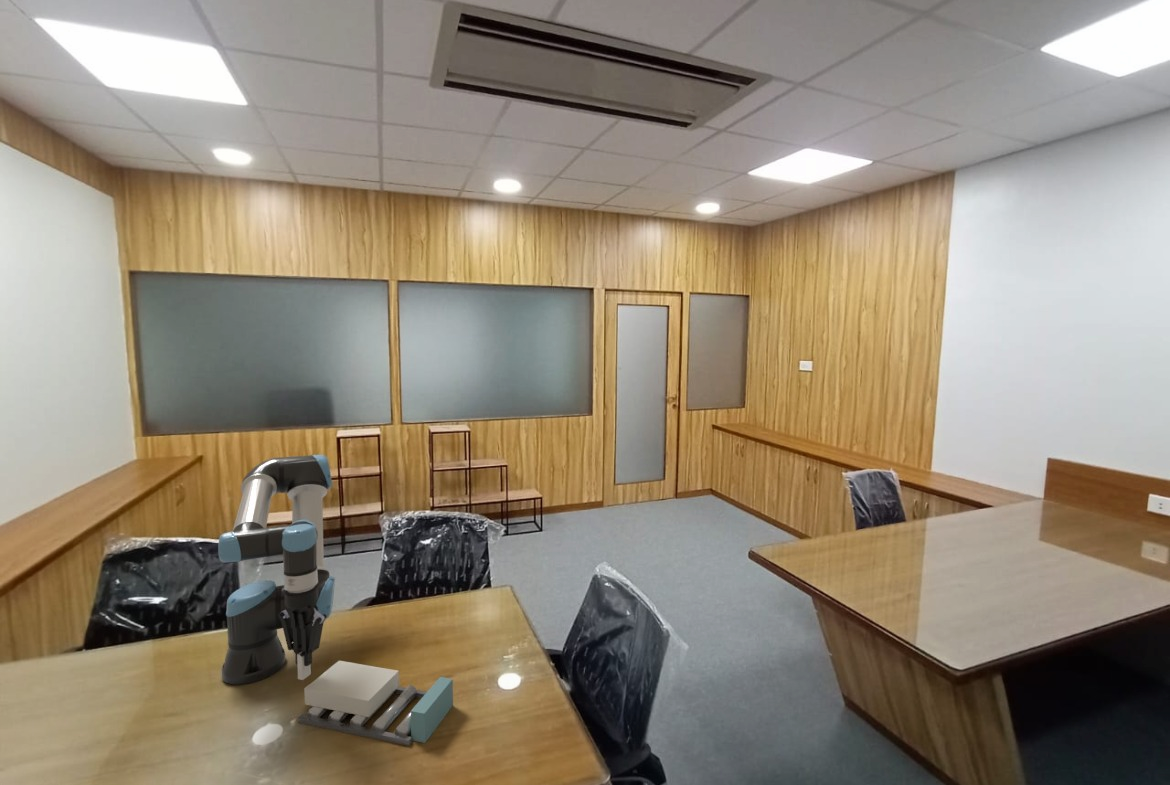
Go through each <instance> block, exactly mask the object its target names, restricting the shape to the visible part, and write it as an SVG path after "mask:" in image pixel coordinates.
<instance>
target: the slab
mask: <svg viewBox="0 0 1170 785" xmlns="http://www.w3.org/2000/svg"><path fill="white" fill-rule="evenodd" d="M399 672H400V671H399V670H396V669H391V668H384V667H379V666H374V665H368V664H360V663H356V662H349V661H344V660H337V662H335V663H334V664H333V665H331V666H330V667H329V668H328V669H327V670H325V671H324V672H323V673H322V674H321V675H319V676H318V677H317V678H316V679H314V680H313V681H311V683H310V684H308V685H306V686H305V687H304V688H303V691H304V705H307V706H311V707H313V706H316V707H321V708H326V709H328V710H333V711H334V710H336V711H341V712H346V713H349V714H350V715H351V714H353V715H361V716H366V717H369V716H370V715H371V714H372V713H373V712H374V711H375V710H376V709H377V708H378V707H379V706H380V705H381V704H382V703H383V702H384V701H385V700H386V699H387V698H388V697H389V696H390V695H391V694H392V693H393V691H394V690H395V689H396V688H397V687H398V686H399V687H400V673H399ZM393 694H394V693H393Z"/></svg>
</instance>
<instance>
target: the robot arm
mask: <svg viewBox="0 0 1170 785" xmlns="http://www.w3.org/2000/svg"><path fill="white" fill-rule="evenodd" d="M332 482H333V481H332V475H331V468H330V463H329V459H328V457H327V456H326V455H324V454H310V455H300V456H299V455H298V456H296V455H295V456H284V457H280V456H279V457H273V458H269V459H267V460H264V461H262V462H260V463H258V464H256V466H254V467H253V468H251V470H250V471H248V473H247V474H246V475H244V478H243V480H242V482H241V485H240V493H241V495H242V496H241V500H240V504H239V506H238V511H237V514H236V517H235V521H234V524H233V528H232V531H229V532H224V533H222V534H221V535H220V536H219V538H218V543H217V546H218V547H217V548H218V549H217V550H218V552H217V554H218V558H219V561H220V562H221V563H234V562H236V563H239V562H243V561H244V562H245V561H249V560H256V559H261V558H262V559H263V558H268V557H269V558H270V557H275V556H276V557H278V556H282V561H283V562H282V563H283V584H282V585H277V584H276V582H275V581H273V580H266V579H265V580H260V581H255V582H252V583H249V584H245V585H244V586H242V587H240V588H238V589H236V590H235V591H233V592H231V594H230V595H229V596H228V598H227V601H226V612H225V616H226V624H227V629H226V630H227V648H228V649H227V651H226V654H225V659H224V663H222V664H223V665H222V667H221V679H223V680H222V681H223V682H225V683H226V684H228V683H229V684H228V685H234V686H235V685H239V686H240V685H246V684H252V683H255V682H259V681H261V680H264V679H267V678H268V677H270V676H273V675H274V674H275V673H277V672H278V671H280V670H281V668H282V667H284V665H285V663H286V651H285V649H284V647H283V645H282V642H281V640H280V637H279V636H278V630H280V629H282V630H283V634H284V639H285V644H286V646H287V650H288V651H293V653H294V655H295V657H294V658H295V665H297V680H301V681H304V680H305V679H306V678H308V677H309V676H310V675H311V674H312V671H311V668H312V667H311V665H312V663H313V653H314V652H315V651H317V650H318V649H319V648H320V643H321V638H322V634H323V633H322V632H323V627H324V623H325V621H326V620H327V619H328V618H329V617H330V616H331V615H332V611H333V607H334V606H333V603H334V598H335V597H334V596H335V586H336V584H335V583H336V582H335V581H336V578H335V577H334V576H330V571H329V570H328V569H327V568H326V567H325V566H324V562H325V561H324V525H323V524H324V520H323V519H324V518H323V516H324V515H323V512H324V511H323V508H324V507H323V498H324V497H326V495H328V490H329V489H332V487H333V483H332ZM275 494H286V495H287V498H288V499H289V500H290V501H292V504H291V506H292V507H291V510H292V511H291V513H292V516H291V518H292V520H291V524H287V525H278V526H271V527H267V524H268V519H269V513H270V508H271V502H272V498H273V496H274V495H275ZM283 664H284V665H283Z"/></svg>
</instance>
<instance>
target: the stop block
mask: <svg viewBox="0 0 1170 785" xmlns="http://www.w3.org/2000/svg"><path fill="white" fill-rule="evenodd" d="M453 682H454V681H453V678H449V677H443V676H439V677H438V679H437V680H436V681H435V682H434V683H433V684H432V685H431V687H430V688H429V689H428V690H427V693H426V694H425V695H424V696H423V697H422V698H420V699H419V700H418V702H417V703H416V704H415V705H414V706H413V707H412V709H411V710H410V711H411V731H410V734H411V735H410V737H412V742H413V741H414V742H417V743H418V742H419V743H424V744H425V743H426V742H427V741H428V740H429V738H430V737H431V735H432V734H433V733H434V732H435V731H436V729H437V728H438V726H439V725H440V724H441V722H443V719H444V718H445V717H446V716H447V714H448V713H449V711H450V710H451V708H453V707H454V693H453V692H454V685H453Z"/></svg>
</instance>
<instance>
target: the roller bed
mask: <svg viewBox="0 0 1170 785" xmlns="http://www.w3.org/2000/svg"><path fill="white" fill-rule="evenodd" d="M427 691H428V690H427ZM427 691H425V690H421V689H417V688H416V687H415V686H414V685H407V687H404V686H400V685H399V686H398V687H397V688H396V689H395V690H394V691H393V693H392V694H391V695H390V696H389V697H388V698H387V699H386V700H385V701H384V702H383V703H382V704H381V705H380V706H379V707H378V708H377V709H376V710H375V711H374V712H373V713H372V714H371V715H370V716H369V717H366V716H361V715H356V714H354V716H352V718H351V719H350V721H349V723H344V722H342V721H343V720H344V719H345V718H346V717H347V716H348V715H349V714H350V713H346V712H341V711H336V710H333V711H331V713H330V714H329V715H328V717H327V719H326V718H321V717H322V716H323V715H324V714H325V713H326V712H327V711H329V709H326V708H321V707H316V706H311V708H309V710H307V712H306V715H305V714H300V716H299V717H298V718H297V723H300V724H303V725H308V726H312V727H318V728H322V729H327V730H332V731H336V732H342V733H346V734H351V735H355V736H360V737H365V738H369V739H373V740H379V741H385V742H387V743H388V742H389V743H394V744H398V745H404V746H408V747H409V746H411V744H412V743H413V740H412V737H411V736H408V735H409V734H411V710H410V711H409V713H408V714H406V716H405V717H404V718H403V719H402V721H401V722H400V723H399V724H398V725H397V726H396V728H395V730H394V732H388V731H386V730H387V729H388V728H389V726H390V725H391V724H392V723H393V722H394V721H395V719H396V718H398V716H399V715H400V714H401V713H402V711H403V710H405V708H406V707H407V706H408V705H409V703H411V701H412V700H413V699H414V698H418V699H421V698H422V697H423V696H424V695H425V694H426V693H427ZM393 694H396V695H399V696H397V697H396V698H395V700H394V701H393V702H392V703H391V704H390V705H389V707H388V708H386V710H385V711H384V712H382V714H381V715H380V716H379V717H378V718H377V719H376V720H375V721H374V722H373V724H372V725H371V728H369V727H364V725H365V724H366V723H367V722H368V721H369V720H370V719H371V718H372V717H373V716H374V715H375V714H376V712H377V711H378V710H379V709H380V708H381V707H383V705H384V704H385V703H386V702H387V701H388V700H389V699H390V698H391V697H392V696H393Z"/></svg>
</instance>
